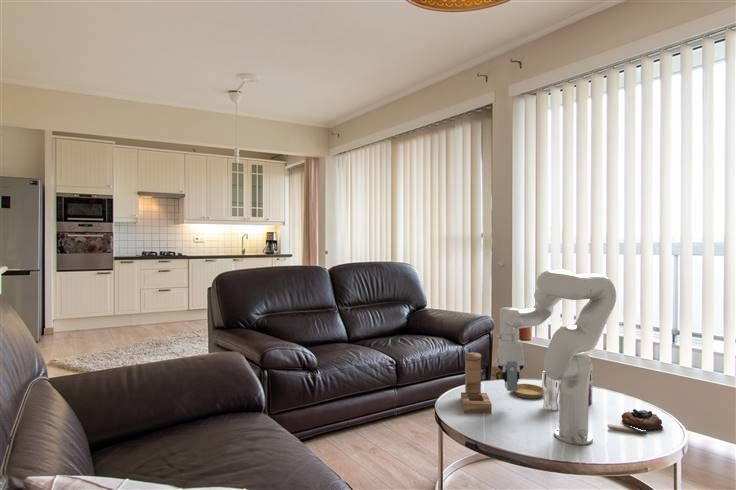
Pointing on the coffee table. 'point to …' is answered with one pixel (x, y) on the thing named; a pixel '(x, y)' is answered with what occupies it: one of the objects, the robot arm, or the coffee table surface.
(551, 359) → the robot arm
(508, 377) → the grey box with cap
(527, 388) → the plant saucer
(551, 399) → the white vase
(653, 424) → the pastry
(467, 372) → the wooden square frame
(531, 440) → the coffee table surface
